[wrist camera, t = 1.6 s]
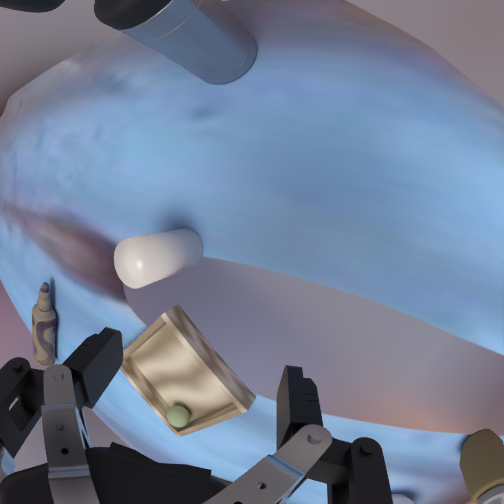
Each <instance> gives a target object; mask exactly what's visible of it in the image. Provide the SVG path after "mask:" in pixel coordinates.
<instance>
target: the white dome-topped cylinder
mask: <svg viewBox="0 0 504 504" xmlns="http://www.w3.org/2000/svg"><path fill="white" fill-rule="evenodd" d="M202 256H203V244H202V241H201V238H200V237H199V235H198V234H197V233H196V232H195V231H193V230H191V229H188V228H182V229H176V230H170V231H165V232H159V233H153V234H148V235H142V236H137V237H131V238H126V239H123V240H122V241H120V242H119V244H118V245H117V247H116V249H115V253H114V264H115V269H116V272H117V274H118V276H119V278H120V279H121V281H122V282H123V283H124V284H126V285H127V286H129V287H130V288H140V287H143V286H145V285H148V284H150V283H153V282H155V281H158V280H160V279H163V278H165V277H168V276H171V275H173V274H175V273H178V272H180V271H183V270H186V269H188V268H191V267H193V266H195V265H197V264H198V263H199V262H200V260H201V258H202Z"/></svg>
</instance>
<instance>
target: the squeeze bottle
mask: <svg viewBox="0 0 504 504" xmlns="http://www.w3.org/2000/svg"><path fill="white" fill-rule="evenodd" d="M460 469H461V471H462V474H463V477H464V481H465V484H466V487H467V490H468V493H469V497H470V500H471V501H472V502H477V504H501V501H503V500H504V444H503V441H502V439H501V438H500V437H498V436H497V435H496V434H495V433H494V432H493V431H491V430H490V429H483V430H479V431H478V432H475V433H474V434H472V435H471V436H470V437H468V439H467V440H466V441H465V442H464V444H463V446H462V452H461V458H460Z"/></svg>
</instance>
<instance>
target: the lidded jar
mask: <svg viewBox="0 0 504 504" xmlns="http://www.w3.org/2000/svg"><path fill="white" fill-rule="evenodd" d="M392 499H393V504H414V502H413V501H412V500H411V499H409V498H408V497H406V496H405V495H403V494H392Z"/></svg>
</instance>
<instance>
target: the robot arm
mask: <svg viewBox="0 0 504 504" xmlns="http://www.w3.org/2000/svg"><path fill="white" fill-rule="evenodd" d="M64 1H65V0H0V7H4V8H9V9H13V10H19V11H25V12H36V13H40V12H48V11H51V10H54V9H56V8H57V7H59V6H60V5H61V4H62V3H63V2H64ZM94 12H95V15H96V17H97V18H98V19H99V20H100V21H101V22H103V23H104V24H106V25H108V26H110V27H112V28H114V29H117V30H119V31H121V32H123V33H125V34H126V35H128V36H130V37H132V38H134V39H136V40H138V41H140V42H142V43H143V44H145V45H147V46H149V47H150V48H152V49H154V50H156V51H157V52H159V53H161V54H162V55H164V56H166V57H167V58H169V59H171V60H172V61H174V62H176V63H177V64H179V65H180V66H182V67H184V68H185V69H187V70H188V71H190V72H191V73H193V74H194V75H196V76H197V77H199V78H200V79H202V80H203V81H205V82H207V83H211V84H225V83H229V82H231V81H234V80H236V79H237V78H239V77H241V76H242V75H243V74H244V73H246V72H247V71H248V69H249V68H250V67H251V66H252V64H253V62H254V60H255V57H256V53H257V47H256V43H255V41H254V39H253V38H252V36H251V35H250V34H249V33H248V31H247V30H246V29H245V28H244V26H243V25H242V24H241V22H240V21H239V20H238V19H237V18H236V16H235V15H234V14H233V13H232V12H231V10H230V9H229V8H228V7H227V6H226V5H225V4H224V2H223V1H222V0H95V4H94ZM122 362H123V346H122V335H121V332H120V331H118V330H115V329H111V328H108V327H106V328H104V329H103V330H102V331H101V332H100V333H99V335H98V334H94V335H92V336H90V337H88V338H86V339H85V340H84V341H83V342H82V344H81V345H80V346H79V347H78V348H77V349H76V350H75V351H74V352H73V353H72V354H71V355H70V356H69V357H68V358H67V359H66V360H65V361H64V363H63V364H62V365H60V364H56V365H52V366H49V367H48V368H47V369H46V370H45V371H44V370H38V369H32V368H31V366H30V364H29V362H28V360H26V359H24V358H20V357H17V358H13V359H11V360H9V361H8V362H7V363H6V364H5V365H4V366H3V367H2V368H1V369H0V504H284V503H285V502H286V501H287V500H288V499H289V498H290V497H291V496H292V495H293V494H294V493H295V491H296V490H297V489H298V488H299V487H300V486H301V485H302V484H303V483H304V482H305V481H306V480H307V479H312V480H315V481H319V482H323V483H326V484H327V496H328V504H393V499H392V494H391V489H390V484H389V479H388V474H387V470H386V465H385V461H384V456H383V452H382V448H381V446H380V445H379V443H378V442H376V441H375V440H373V439H371V438H367V437H361V438H358V439H356V440H354V441H353V443H349V442H345V441H341V440H338V439H335V438H333V437H332V435H331V433H330V432H329V431H328V430H327V429H326V428H324V427H323V422H322V416H321V410H320V404H319V398H318V392H317V386H316V385H315V384H314V382H313V381H312V379H310V378H303V372H302V367H297V366H288V365H286V366H285V368H284V372H283V375H282V379H281V382H280V385H279V388H278V393H277V452H276V453H275V454H273V455H272V456H271V455H267V456H266V457H264V458H263V459H262V460H261V461H259V462H258V463H257V464H256V465H255V466H253V467H252V468H251V469H250V470H248V471H247V472H246V473H245V474H243V475H242V476H241V477H239V478H238V479H237V480H235V481H234V482H233V483H231V484H230V485H229V486H228V485H227V484H225V483H224V482H222V481H220V480H218V479H216V478H214V477H212V476H211V470H209V469H204V468H199V467H195V466H190V465H186V464H167V463H158V462H155V461H153V460H152V459H150V458H148V457H146V456H144V455H143V454H141V453H139V452H138V451H136V450H134V449H131V448H128V447H125V446H122V445H119V444H117V443H114V442H112V443H111V445H110V447H92V445H91V442H90V439H89V434H88V431H87V426H86V422H85V418H84V413H83V410H82V408H83V406H86V407H88V408H91V409H93V407H94V405H95V404H96V402H97V401H98V399H99V398H100V397H101V395H102V394H103V392H104V391H105V389H106V388H107V386H108V385H109V383H110V382H111V380H112V379H113V377H114V376H115V374H116V373H117V372H118V370H119V369H120V367H121V365H122ZM16 398H18V400H17V402H16V403H15V404H14V405H13V407H12V408H11V409H10V411H9V407H10V405H11V403H13V401H14V400H15V399H16ZM41 416H42V424H43V433H44V442H45V449H46V455H47V461H48V463H45V464H42V465H38V466H35V467H32V468H28V469H25V470H21V471H18V472H15V471H14V468H15V462H14V457H15V456H16V454H17V452H18V451H19V449H20V448H21V446H22V444H23V443H24V441H25V440H26V438H27V437H28V435H29V434H30V432H31V430H32V429H33V427H34V426H35V424H36V423H37V421H38V420H39V418H40V417H41Z"/></svg>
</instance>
